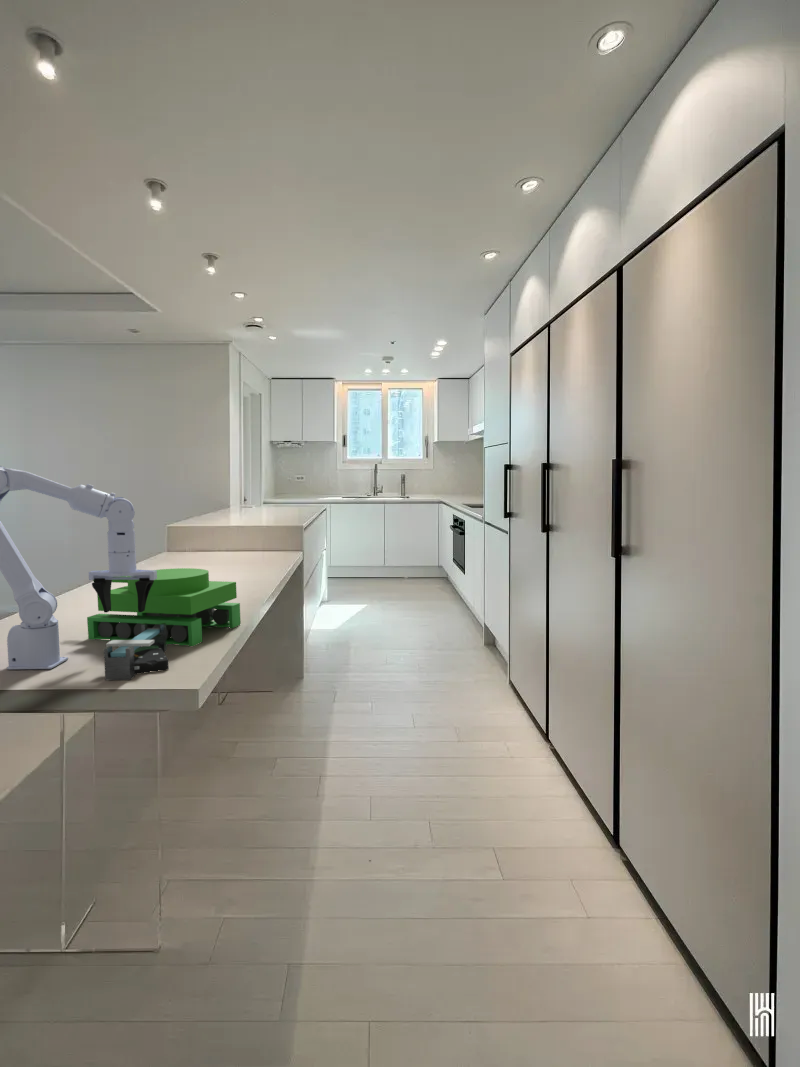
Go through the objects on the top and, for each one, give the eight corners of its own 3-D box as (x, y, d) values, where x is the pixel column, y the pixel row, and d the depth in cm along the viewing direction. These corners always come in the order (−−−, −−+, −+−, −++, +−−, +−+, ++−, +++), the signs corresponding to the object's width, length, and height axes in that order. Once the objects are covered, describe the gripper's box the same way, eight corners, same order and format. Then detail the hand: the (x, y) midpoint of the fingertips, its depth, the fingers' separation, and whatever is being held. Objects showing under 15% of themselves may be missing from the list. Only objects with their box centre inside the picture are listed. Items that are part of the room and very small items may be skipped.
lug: (104, 680, 134) (103, 648, 133) (109, 676, 136) (108, 645, 135) (130, 679, 134) (129, 648, 133) (135, 676, 136) (134, 645, 136)
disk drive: (170, 672, 141) (159, 654, 154) (169, 659, 140) (159, 643, 154) (117, 679, 136) (111, 660, 149) (116, 666, 136) (110, 648, 149)
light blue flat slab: (95, 657, 134) (95, 650, 134) (135, 632, 155) (135, 625, 155) (140, 657, 134) (140, 649, 134) (174, 632, 155) (174, 625, 155)
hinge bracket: (142, 652, 154) (141, 624, 153) (144, 650, 156) (143, 623, 155) (164, 652, 154) (163, 624, 153) (167, 650, 156) (166, 622, 155)
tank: (132, 620, 192) (129, 564, 190) (241, 625, 182) (239, 566, 181) (70, 641, 168) (66, 577, 167) (192, 648, 159) (188, 581, 158)
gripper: (81, 554, 144) (84, 615, 146) (148, 553, 145) (150, 614, 146) (95, 550, 151) (98, 608, 153) (159, 549, 152) (161, 608, 153)
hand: (124, 611), depth 150 cm, fingers open, 7 cm apart
